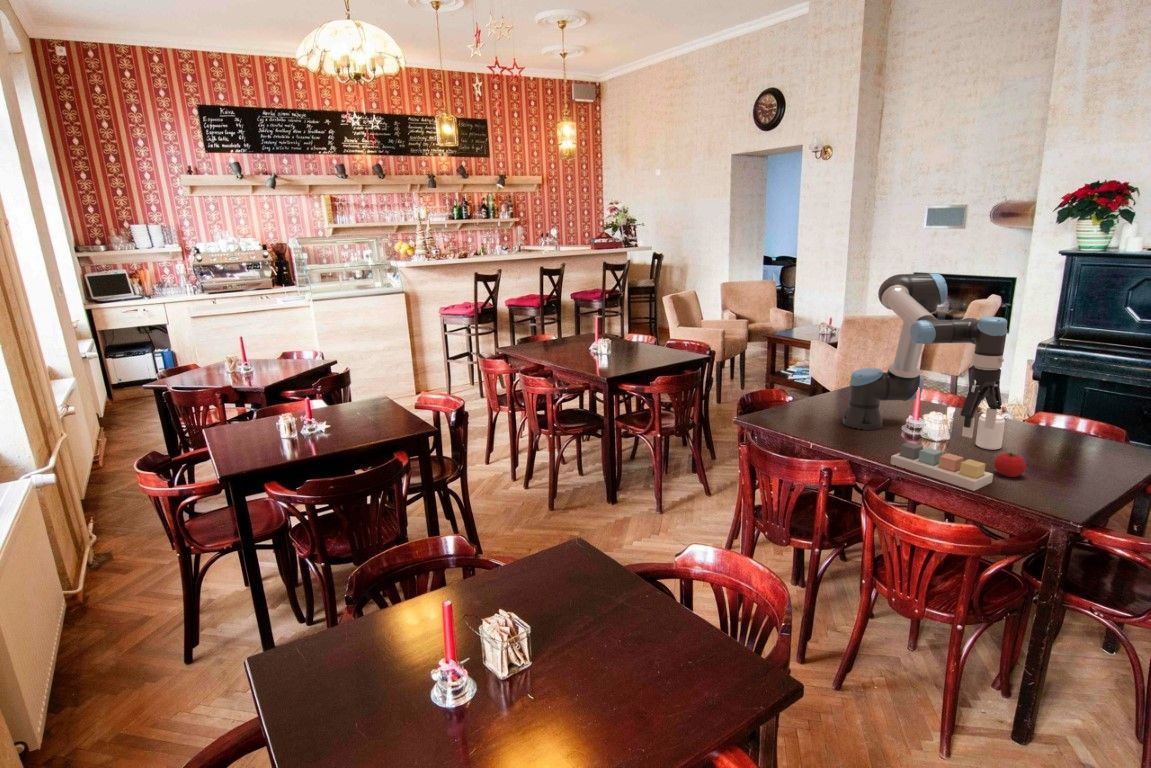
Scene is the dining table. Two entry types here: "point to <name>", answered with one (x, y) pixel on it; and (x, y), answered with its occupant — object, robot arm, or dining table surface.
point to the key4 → (972, 469)
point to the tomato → (1010, 464)
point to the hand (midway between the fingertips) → (978, 432)
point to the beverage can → (990, 433)
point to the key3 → (950, 462)
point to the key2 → (930, 456)
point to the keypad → (941, 473)
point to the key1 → (910, 450)
